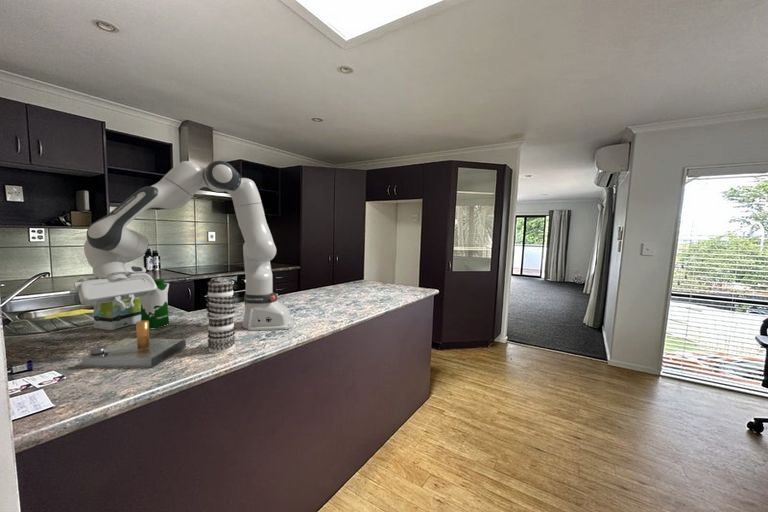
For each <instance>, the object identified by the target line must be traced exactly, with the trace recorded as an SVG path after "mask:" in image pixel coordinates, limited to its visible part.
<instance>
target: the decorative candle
mask: <svg viewBox="0 0 768 512" xmlns="http://www.w3.org/2000/svg"><path fill="white" fill-rule="evenodd" d="M233 283H234V281H233V280H232V279H231V278H229V277H225V276H222V277H219V276H218V277H214V278H211V279H210V281H209V282H207V287H208V289H207V290H208V291H207V295H206V297H205V301H206V302H207V303H206V305H205V306H206V308H205V309H206V311H207V314H206V317H207V318H208V330H207V338H208V339H207V343H208V344H207V347H208V348H207V351H208V352H210V353H214V354H218V353H225V352H228V351H231V350H234V348H235V347H236V345H235V344H236V340H235V339H236V336H235V334H236V331H235V330H236V327H234V326H235V322H234V316H235V313H236V311H235V310H234V309H235V308H236V306H235V305H234V304H235V303H236V301H235V299H236V296H234V290H233V287H234V285H233Z"/></svg>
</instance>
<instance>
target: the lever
mask: <svg viewBox="0 0 768 512" xmlns="http://www.w3.org/2000/svg"><path fill="white" fill-rule="evenodd" d="M135 326H136V327H135V330H136V339H137V344H130V345H121V346H112V347H107V346H106V345H104V346H103V345H99V346H94V347H92V348H90V350H89V352H90V353H89V354H90V355H99V354H103V353H105V352H112V351H121V350H129V349H146V348H149V347H150V339H151V338H150V329H149V321H148V320H144V321H138V322H136V324H135Z"/></svg>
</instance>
